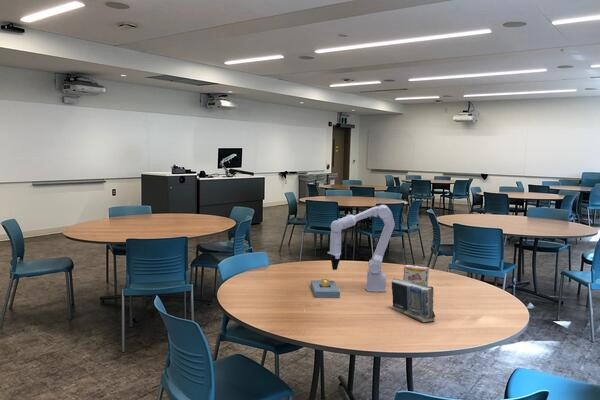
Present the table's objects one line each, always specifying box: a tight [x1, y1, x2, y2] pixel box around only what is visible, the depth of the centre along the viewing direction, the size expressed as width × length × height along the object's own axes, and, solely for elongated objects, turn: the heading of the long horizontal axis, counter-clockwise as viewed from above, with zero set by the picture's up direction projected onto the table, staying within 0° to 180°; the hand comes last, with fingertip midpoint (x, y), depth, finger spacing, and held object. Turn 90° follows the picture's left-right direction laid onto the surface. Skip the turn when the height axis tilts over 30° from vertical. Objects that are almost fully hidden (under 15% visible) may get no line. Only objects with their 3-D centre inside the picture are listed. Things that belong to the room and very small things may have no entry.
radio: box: [389, 278, 436, 323], centre depth 199 cm, size 23×9×15 cm, turn 22°
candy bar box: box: [402, 264, 430, 287], centre depth 219 cm, size 11×5×16 cm, turn 65°
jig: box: [310, 279, 341, 299], centre depth 229 cm, size 12×20×3 cm, turn 5°
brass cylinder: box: [320, 278, 330, 287], centre depth 229 cm, size 4×4×6 cm
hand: (334, 269), depth 237 cm, fingers closed
